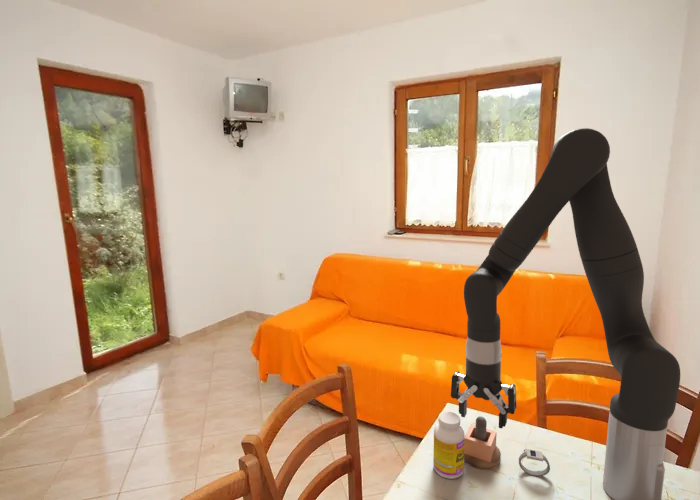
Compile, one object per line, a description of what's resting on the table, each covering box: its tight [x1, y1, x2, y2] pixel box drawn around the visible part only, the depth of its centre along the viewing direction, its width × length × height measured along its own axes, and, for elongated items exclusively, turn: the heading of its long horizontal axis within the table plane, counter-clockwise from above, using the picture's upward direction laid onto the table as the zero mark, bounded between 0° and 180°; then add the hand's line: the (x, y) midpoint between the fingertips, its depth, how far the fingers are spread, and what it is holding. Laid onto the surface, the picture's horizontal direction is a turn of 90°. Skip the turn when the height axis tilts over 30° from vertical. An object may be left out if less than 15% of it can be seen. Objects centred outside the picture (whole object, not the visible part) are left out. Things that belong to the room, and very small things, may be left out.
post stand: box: [464, 415, 502, 471], centre depth 91 cm, size 9×9×10 cm
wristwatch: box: [518, 448, 551, 477], centre depth 85 cm, size 6×3×5 cm, turn 70°
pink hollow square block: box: [464, 424, 497, 462], centre depth 91 cm, size 6×6×4 cm
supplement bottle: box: [432, 411, 465, 480], centre depth 87 cm, size 7×7×13 cm
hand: (482, 420), depth 90 cm, fingers open, 8 cm apart
